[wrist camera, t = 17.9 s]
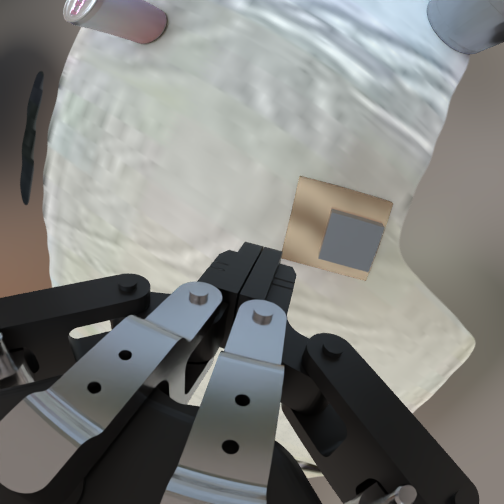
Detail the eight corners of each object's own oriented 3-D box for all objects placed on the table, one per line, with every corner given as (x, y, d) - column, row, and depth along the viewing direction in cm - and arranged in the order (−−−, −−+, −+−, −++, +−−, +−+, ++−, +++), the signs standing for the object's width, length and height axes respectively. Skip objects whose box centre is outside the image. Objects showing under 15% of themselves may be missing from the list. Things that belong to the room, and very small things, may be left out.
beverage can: (127, 38, 31) (54, 20, 18) (147, 6, 29) (80, -24, 15) (154, 49, 32) (81, 27, 18) (176, 15, 29) (110, -21, 16)
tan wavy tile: (299, 175, 35) (299, 176, 34) (391, 202, 33) (393, 203, 32) (281, 255, 40) (280, 257, 39) (365, 278, 38) (365, 280, 37)
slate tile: (331, 212, 32) (384, 227, 32) (331, 206, 35) (381, 221, 34) (318, 258, 35) (368, 272, 34) (318, 250, 37) (366, 264, 36)
